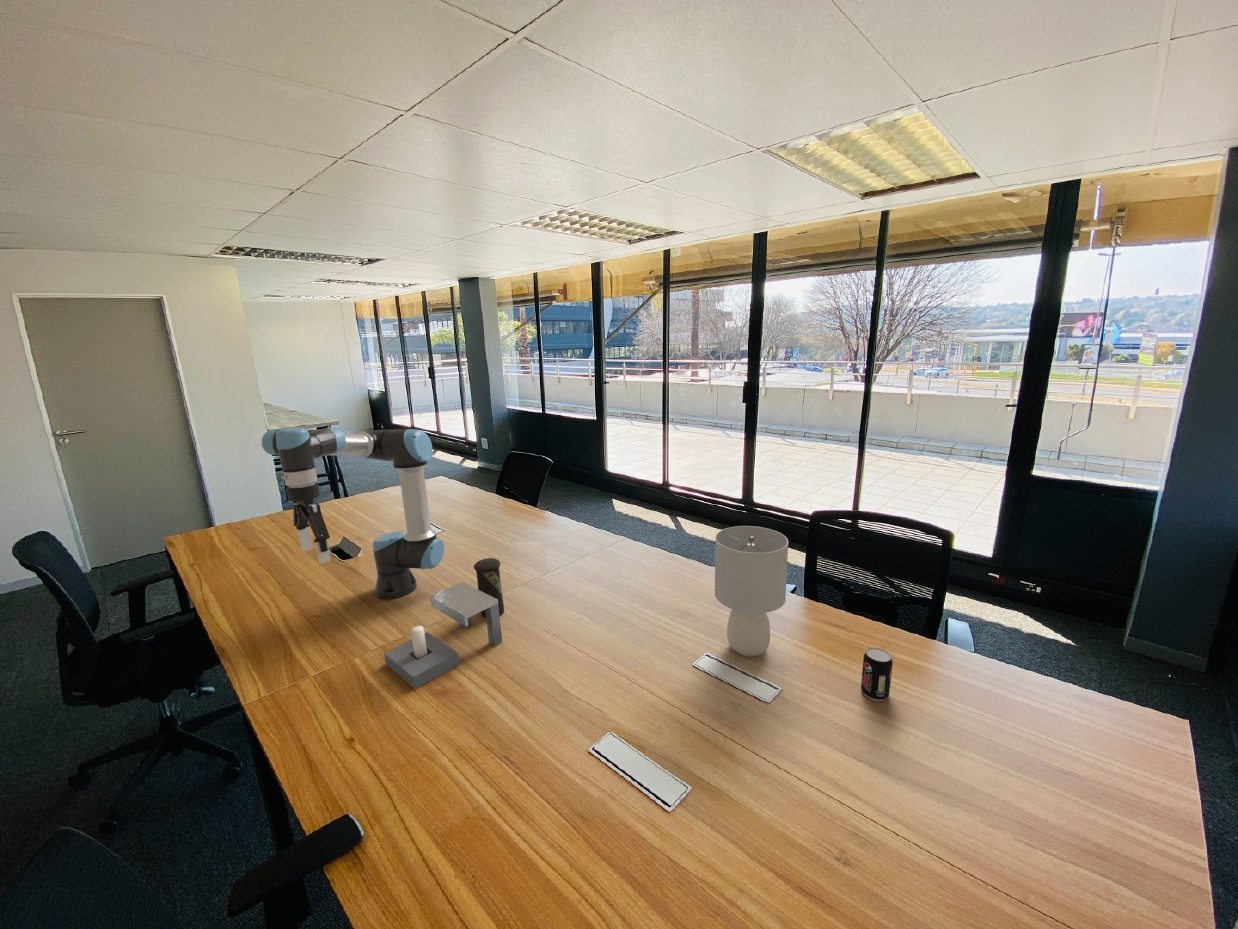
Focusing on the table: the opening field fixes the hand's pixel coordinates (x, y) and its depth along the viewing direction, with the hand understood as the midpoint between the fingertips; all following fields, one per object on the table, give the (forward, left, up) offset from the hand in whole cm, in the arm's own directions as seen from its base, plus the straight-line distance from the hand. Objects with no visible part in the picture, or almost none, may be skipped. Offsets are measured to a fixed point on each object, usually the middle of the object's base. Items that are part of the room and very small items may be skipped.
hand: (316, 556), depth 140 cm
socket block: (+19, +17, -37) cm, 45 cm away
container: (+11, +48, -37) cm, 61 cm away
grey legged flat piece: (+19, +33, -37) cm, 53 cm away
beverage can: (+128, +85, -37) cm, 158 cm away
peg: (+19, +17, -37) cm, 45 cm away
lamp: (+93, +83, -37) cm, 130 cm away
